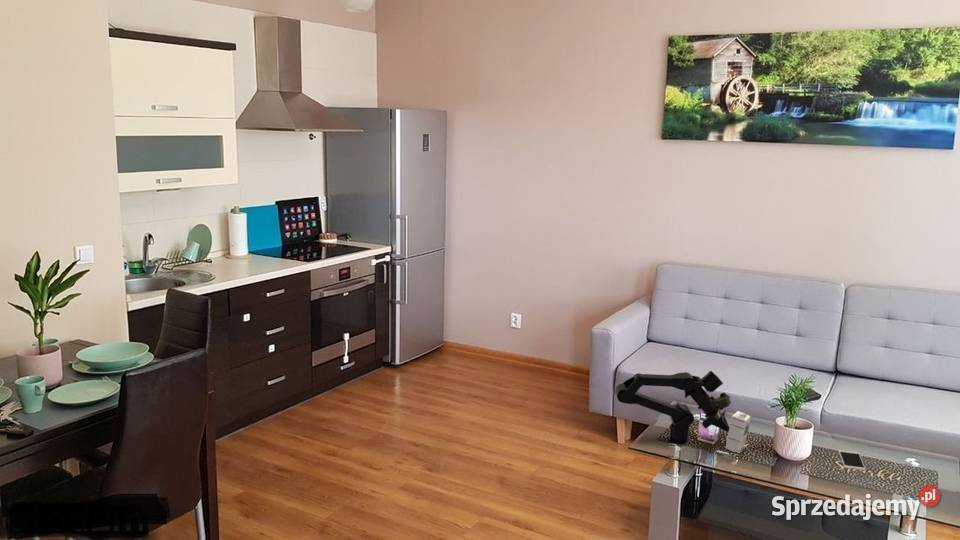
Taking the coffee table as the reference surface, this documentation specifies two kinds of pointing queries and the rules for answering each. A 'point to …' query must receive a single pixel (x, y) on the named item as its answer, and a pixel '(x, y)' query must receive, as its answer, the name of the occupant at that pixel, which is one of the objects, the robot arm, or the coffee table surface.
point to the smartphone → (851, 460)
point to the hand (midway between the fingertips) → (730, 431)
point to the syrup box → (738, 432)
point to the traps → (727, 457)
